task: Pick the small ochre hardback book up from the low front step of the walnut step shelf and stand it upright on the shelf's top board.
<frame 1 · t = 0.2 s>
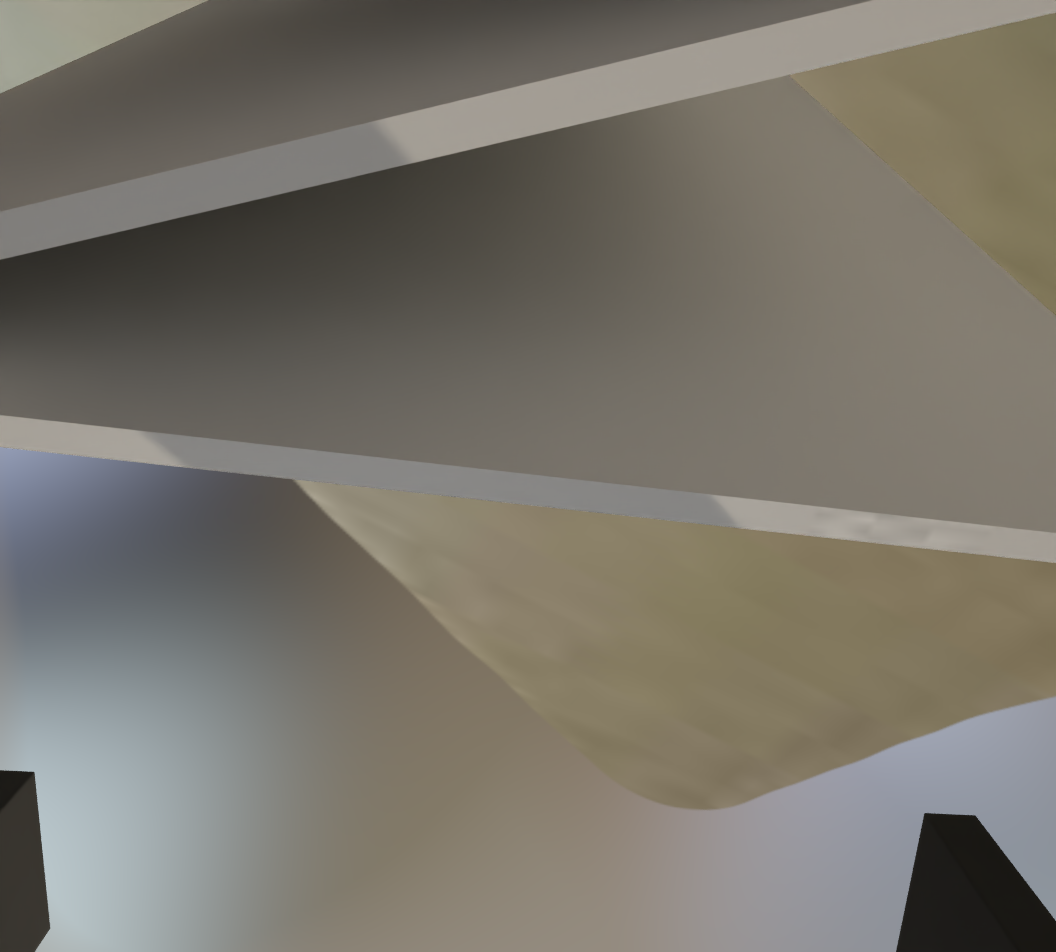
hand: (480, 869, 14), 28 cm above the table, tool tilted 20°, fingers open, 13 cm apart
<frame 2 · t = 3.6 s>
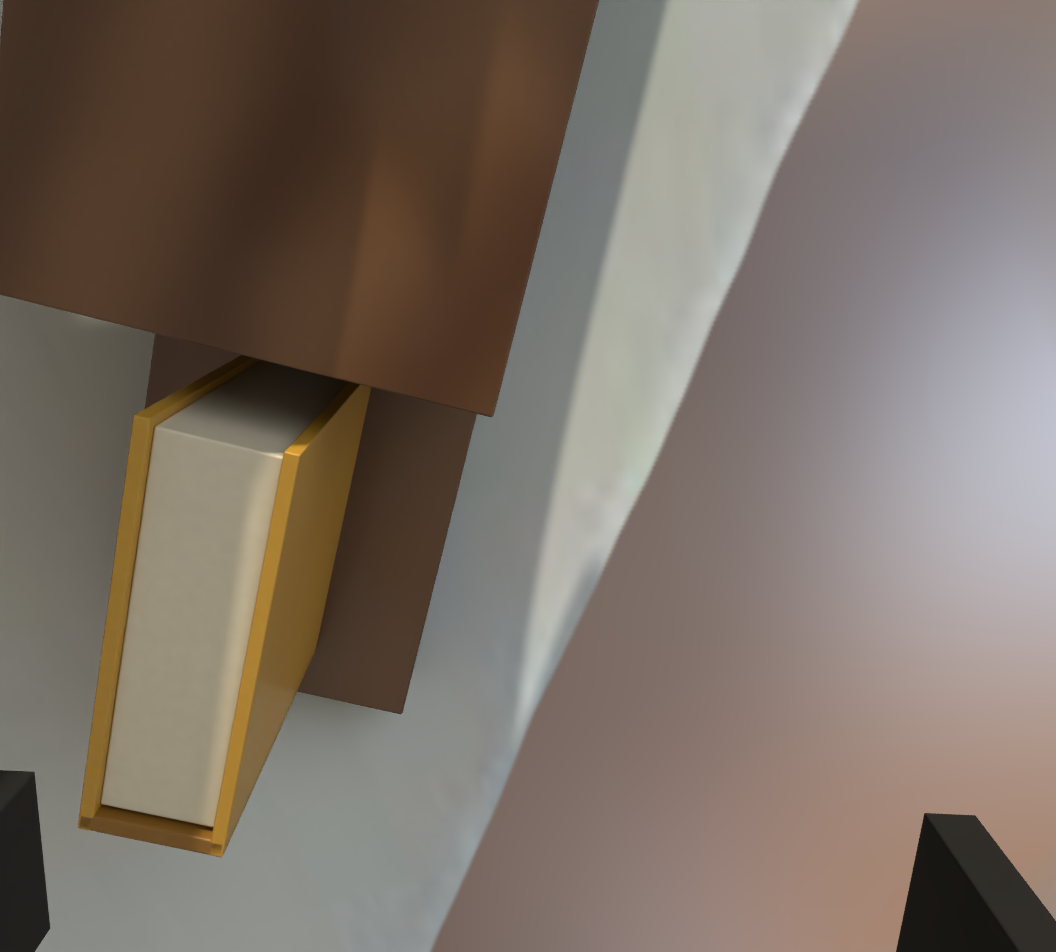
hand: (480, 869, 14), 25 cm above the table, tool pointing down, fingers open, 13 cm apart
step shelf: (347, 291, 35), on the table
ochre book: (292, 503, 35), point 3 cm above the table, touching step shelf
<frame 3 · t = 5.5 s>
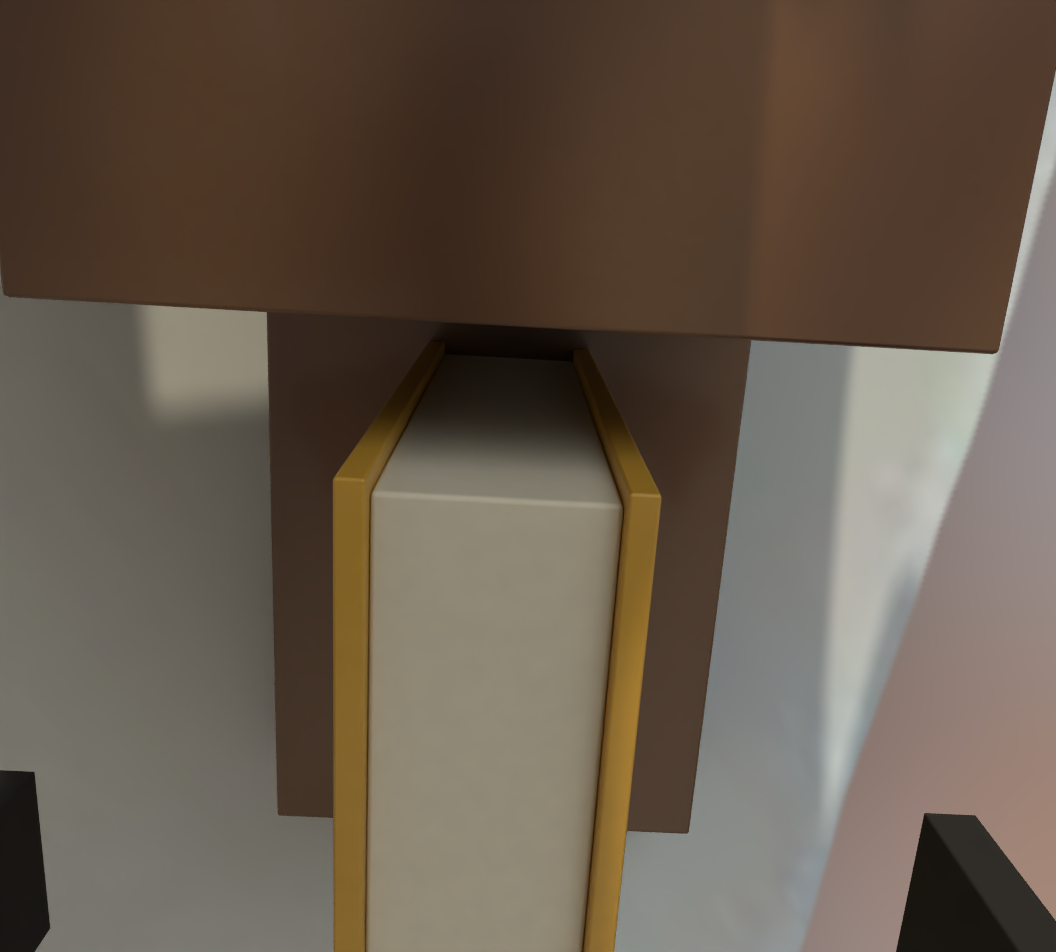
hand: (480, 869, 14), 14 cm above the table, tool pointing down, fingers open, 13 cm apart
step shelf: (514, 256, 25), on the table
ochre book: (497, 570, 24), point 3 cm above the table, touching step shelf
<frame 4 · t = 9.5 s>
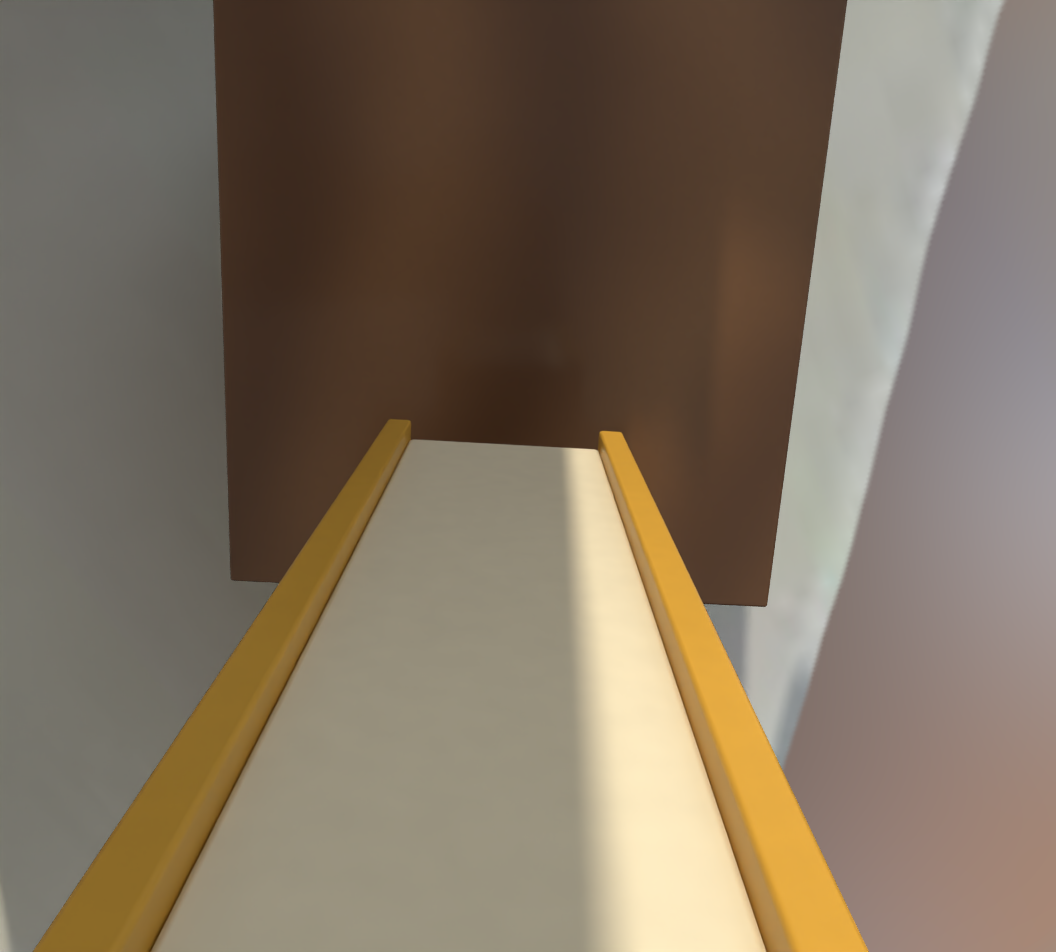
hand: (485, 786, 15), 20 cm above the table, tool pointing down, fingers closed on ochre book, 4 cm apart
step shelf: (509, 449, 35), on the table
ochre book: (489, 735, 17), point 19 cm above the table, touching gripper
when the fingers open (16 cm above the table, at t = 11.9 s): ochre book stays where it is, resting on step shelf.
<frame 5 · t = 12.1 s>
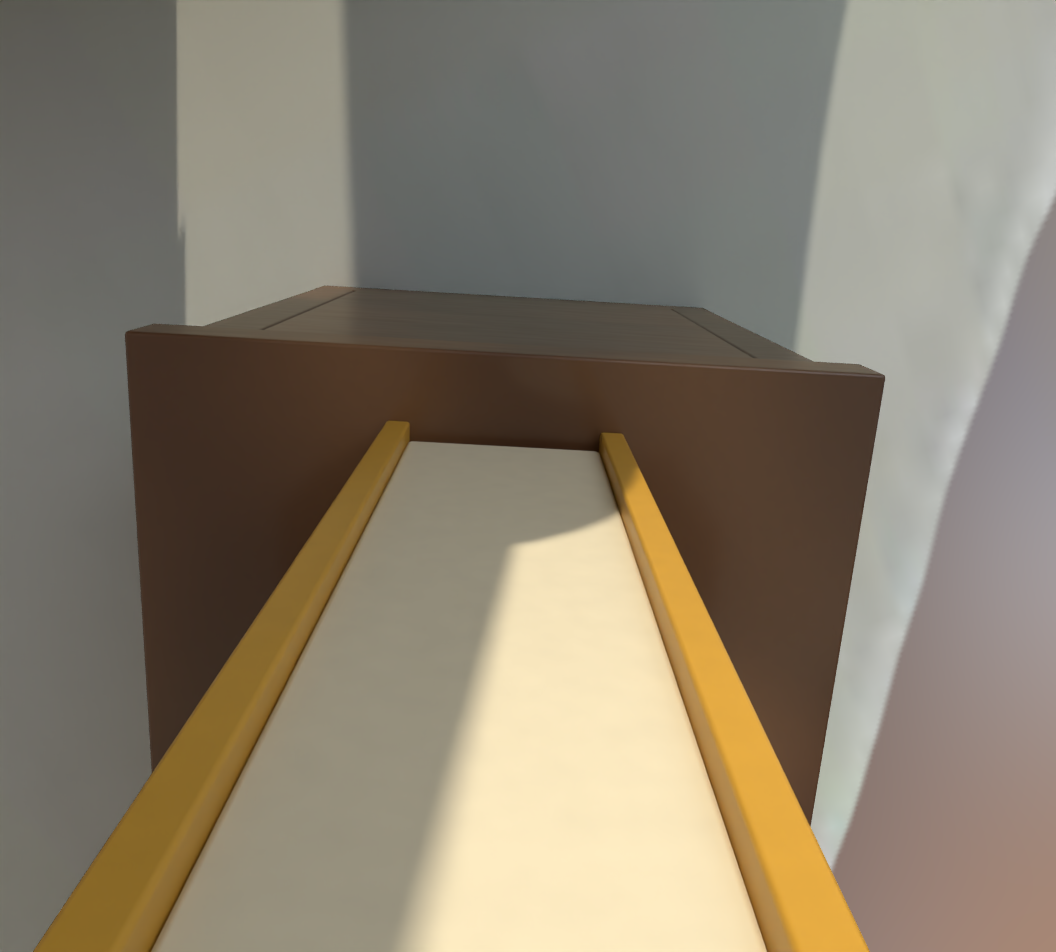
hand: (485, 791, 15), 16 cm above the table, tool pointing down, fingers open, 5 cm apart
step shelf: (492, 696, 32), on the table
ochre book: (488, 740, 17), point 14 cm above the table, touching step shelf
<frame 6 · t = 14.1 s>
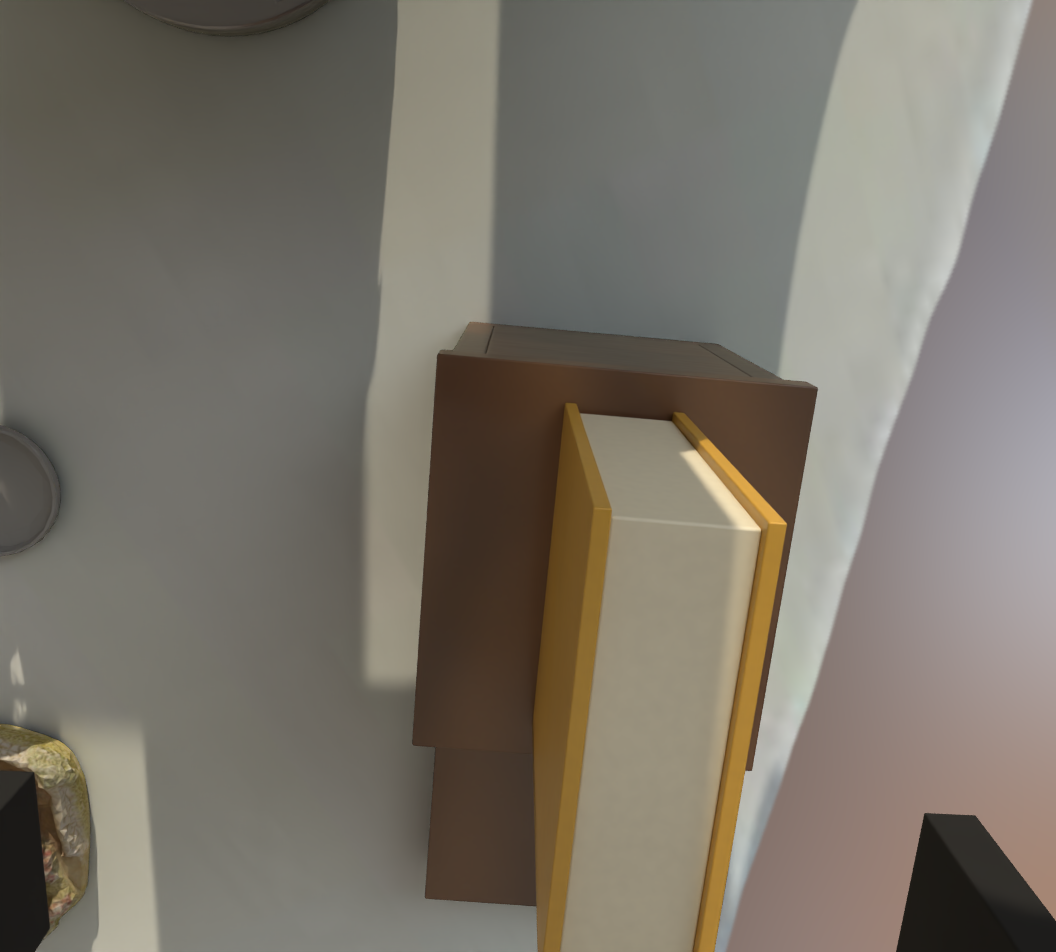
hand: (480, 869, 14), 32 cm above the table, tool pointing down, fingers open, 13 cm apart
step shelf: (565, 604, 47), on the table
ochre book: (604, 577, 32), point 14 cm above the table, touching step shelf
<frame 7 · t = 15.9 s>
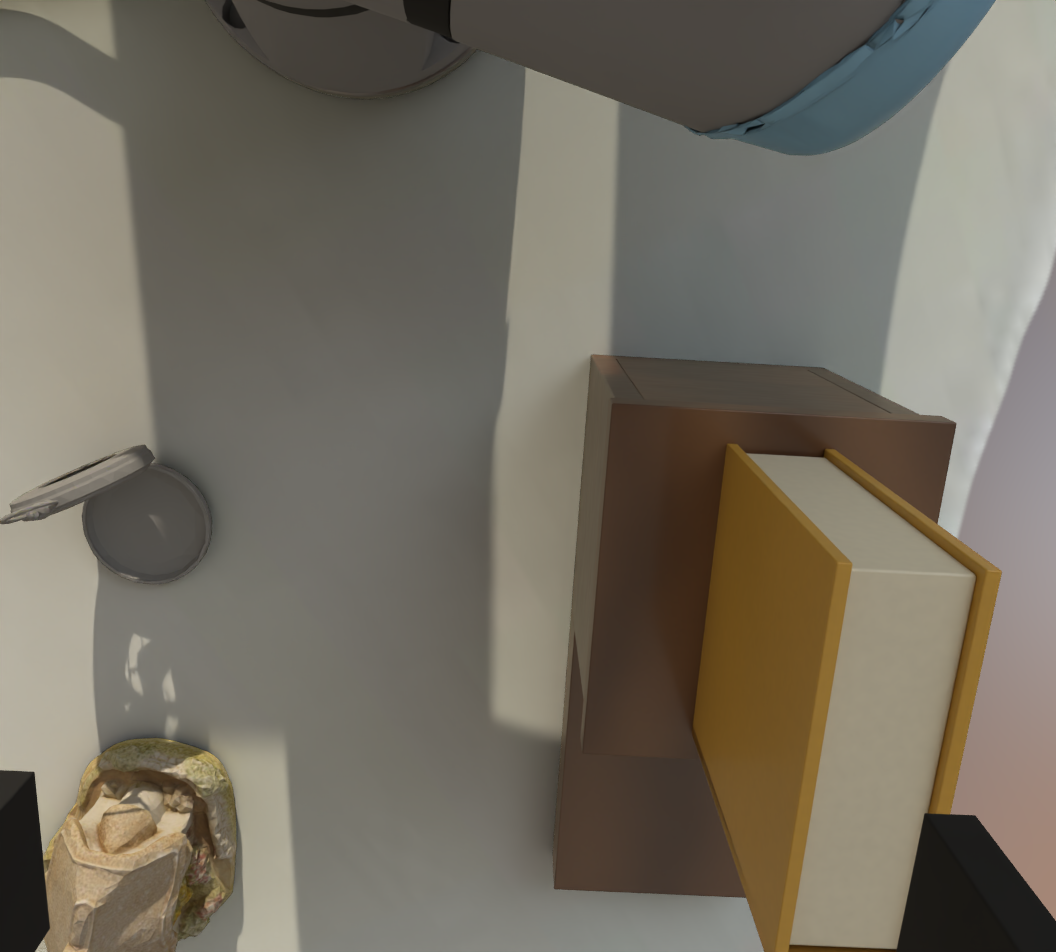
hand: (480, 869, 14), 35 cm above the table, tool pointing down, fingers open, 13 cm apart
pocket watch: (146, 497, 48), on the table
step shelf: (679, 613, 50), on the table
ochre book: (760, 598, 35), point 14 cm above the table, touching step shelf
ceramic model: (149, 833, 54), on the table
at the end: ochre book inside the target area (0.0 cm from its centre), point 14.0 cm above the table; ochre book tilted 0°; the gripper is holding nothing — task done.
